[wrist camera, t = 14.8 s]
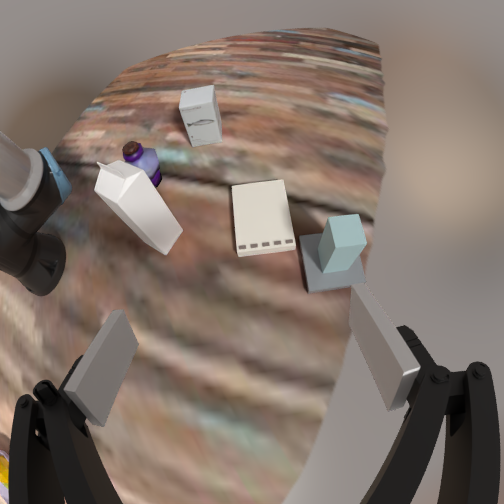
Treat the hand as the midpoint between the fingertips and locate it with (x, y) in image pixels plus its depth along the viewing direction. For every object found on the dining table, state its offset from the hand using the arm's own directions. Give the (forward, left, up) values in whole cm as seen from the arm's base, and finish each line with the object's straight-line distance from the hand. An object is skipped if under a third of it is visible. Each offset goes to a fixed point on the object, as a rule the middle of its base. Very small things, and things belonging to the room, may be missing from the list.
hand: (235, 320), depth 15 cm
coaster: (-5, +18, -30) cm, 35 cm away
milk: (-27, -5, -30) cm, 41 cm away
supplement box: (-46, +15, -30) cm, 57 cm away
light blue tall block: (-5, +18, -28) cm, 34 cm away
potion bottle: (-42, -2, -30) cm, 52 cm away
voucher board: (-19, +13, -30) cm, 37 cm away
